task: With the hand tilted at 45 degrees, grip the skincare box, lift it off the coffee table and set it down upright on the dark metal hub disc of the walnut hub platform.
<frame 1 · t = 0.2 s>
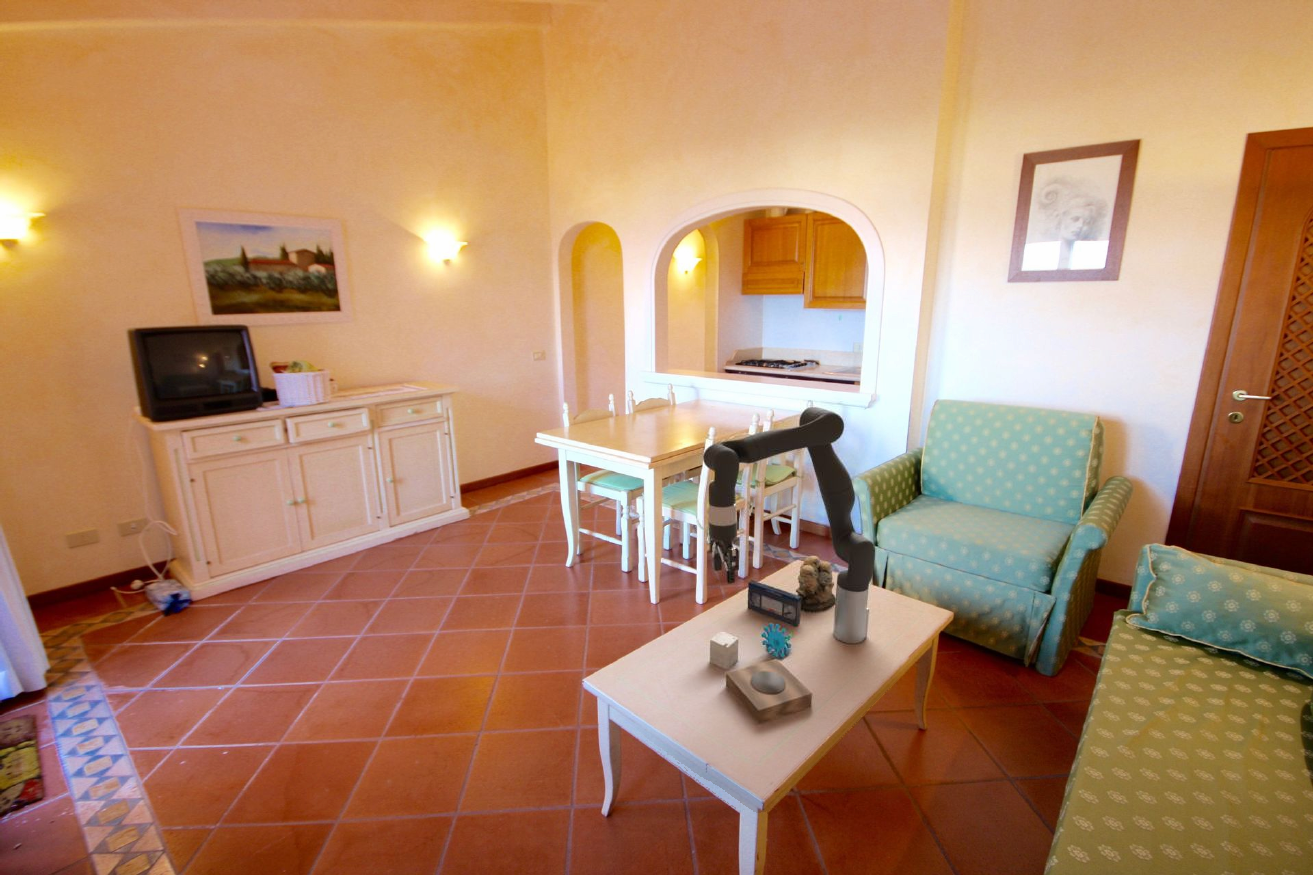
hand: (724, 576, 158), 29 cm above the table, tool pointing down, fingers open, 8 cm apart
hub platform: (767, 695, 154), on the table
owl figurine: (813, 603, 202), on the table
skincare box: (723, 661, 169), on the table
vhs cassette tape: (773, 617, 193), on the table
gear: (777, 651, 174), on the table
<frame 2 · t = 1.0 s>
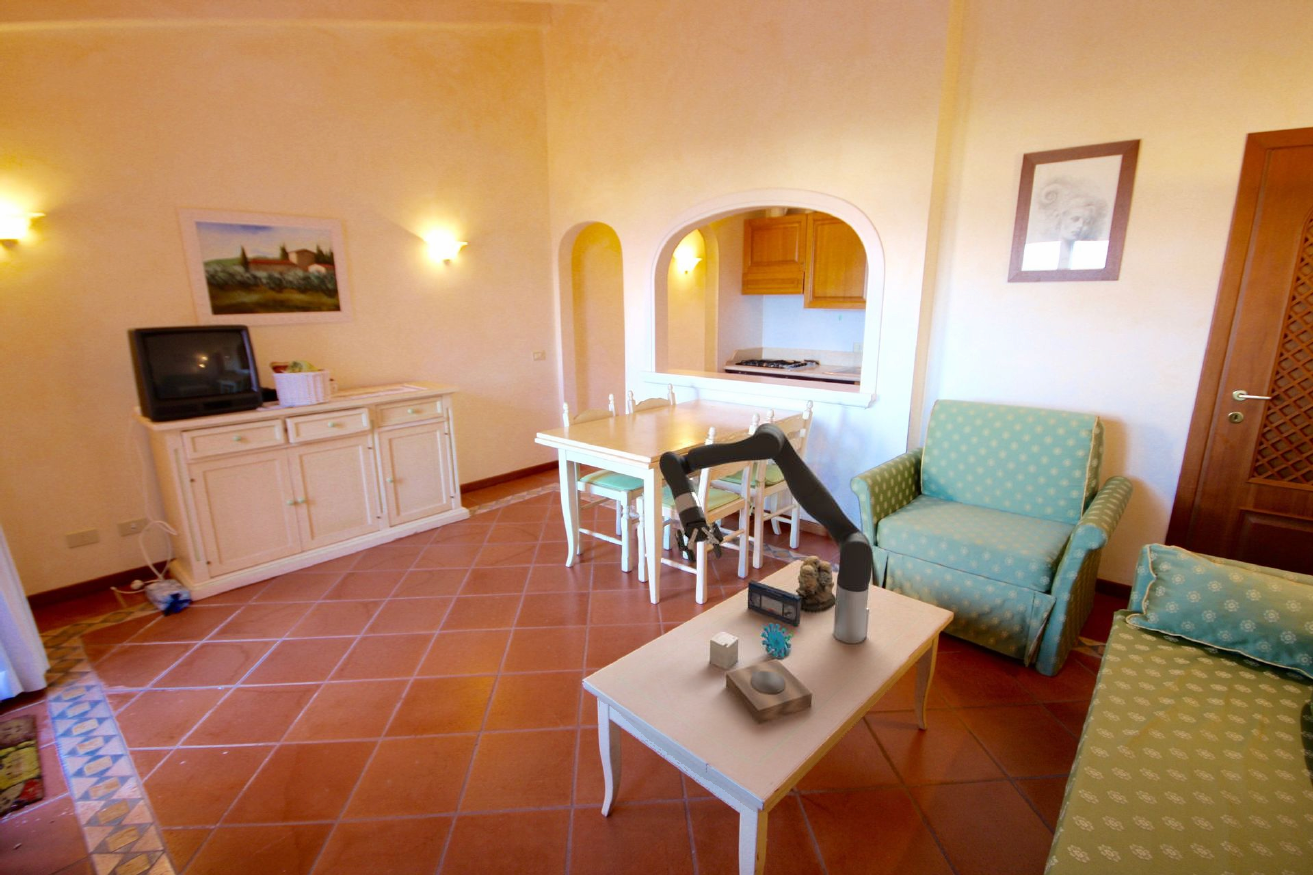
hand: (707, 560, 172), 27 cm above the table, tool tilted 45°, fingers open, 8 cm apart
nothing on the table moved.
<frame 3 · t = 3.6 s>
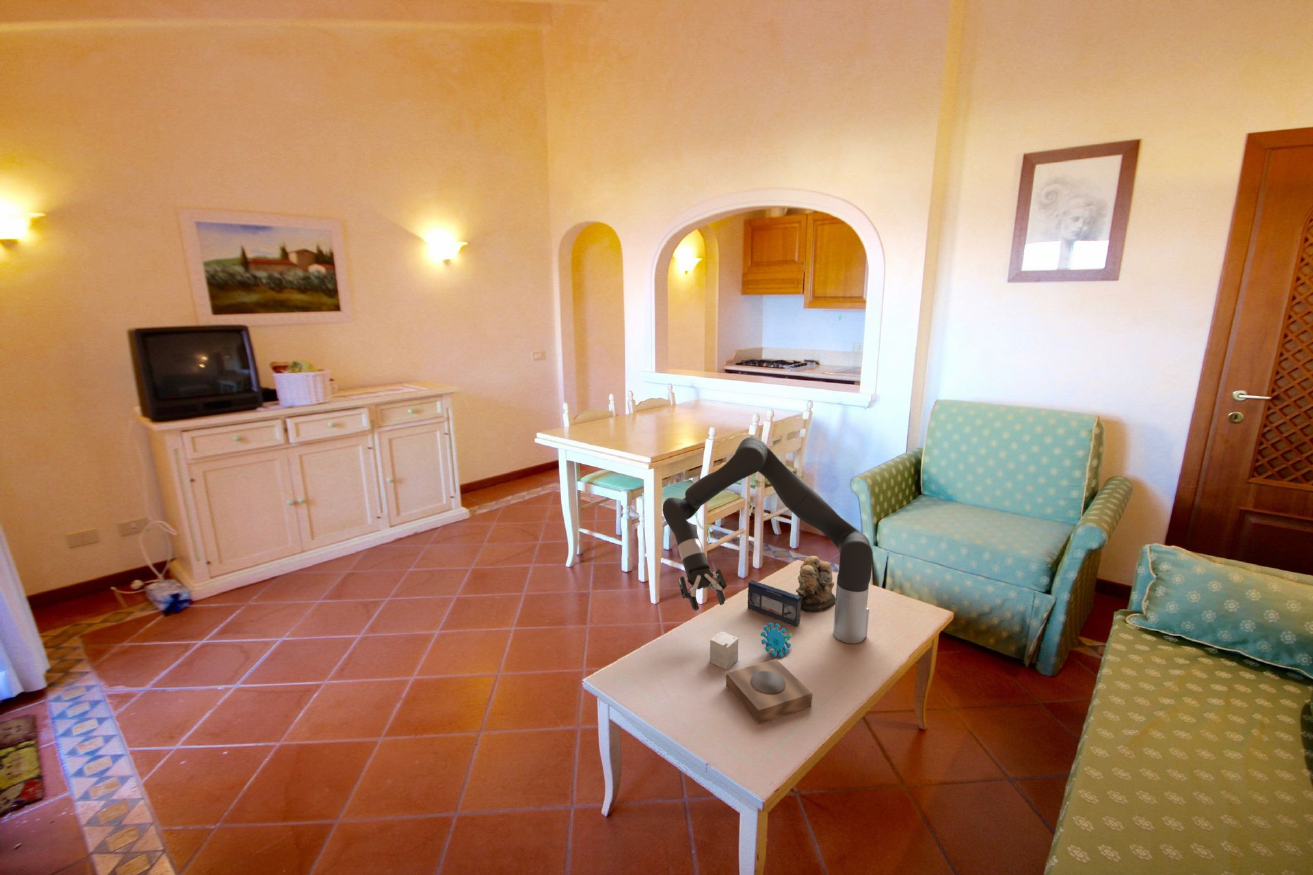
hand: (710, 607, 175), 13 cm above the table, tool tilted 45°, fingers open, 8 cm apart
nothing on the table moved.
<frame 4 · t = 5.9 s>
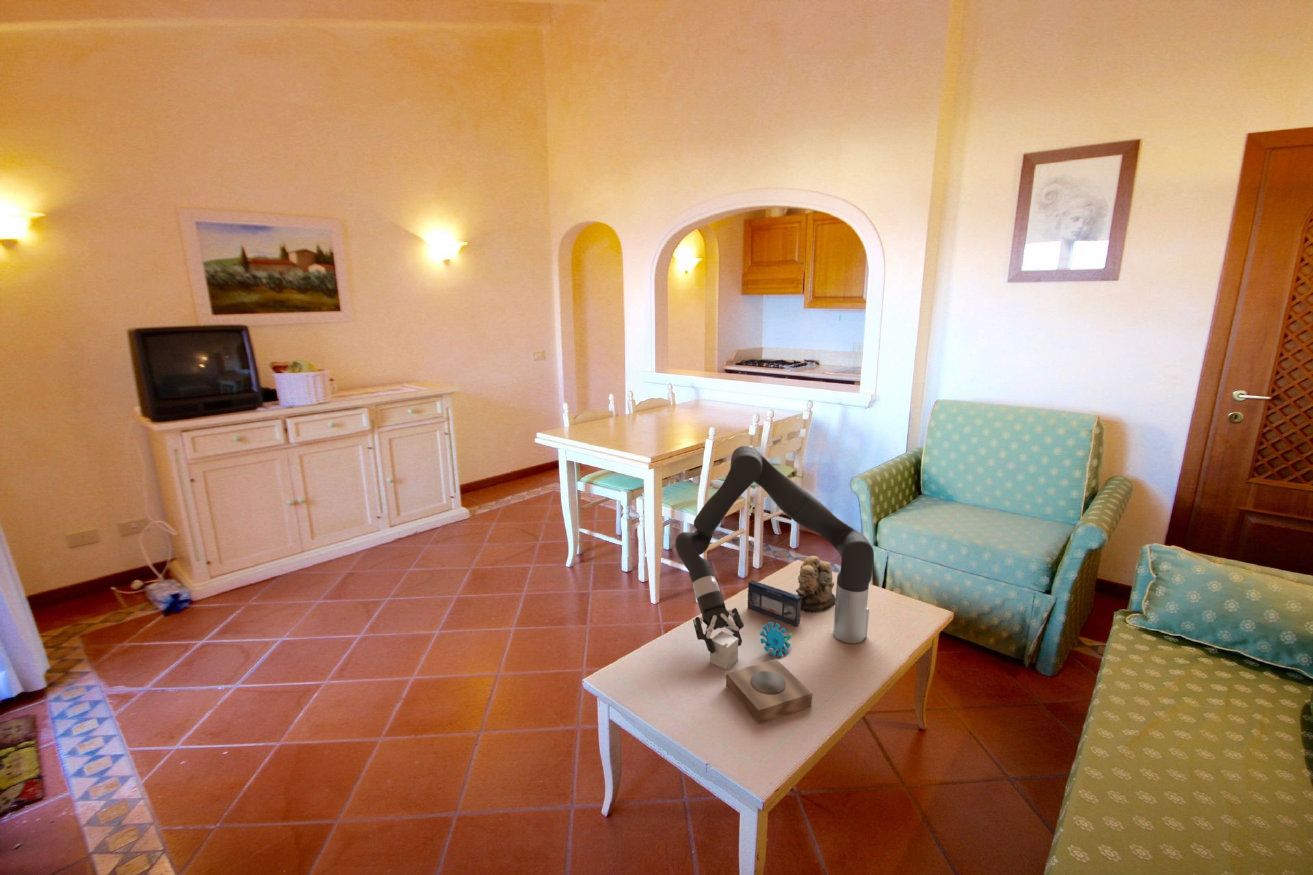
hand: (726, 649, 167), 5 cm above the table, tool tilted 45°, fingers open, 8 cm apart
skincare box: (723, 661, 169), on the table, touching gripper
everything else where it was.
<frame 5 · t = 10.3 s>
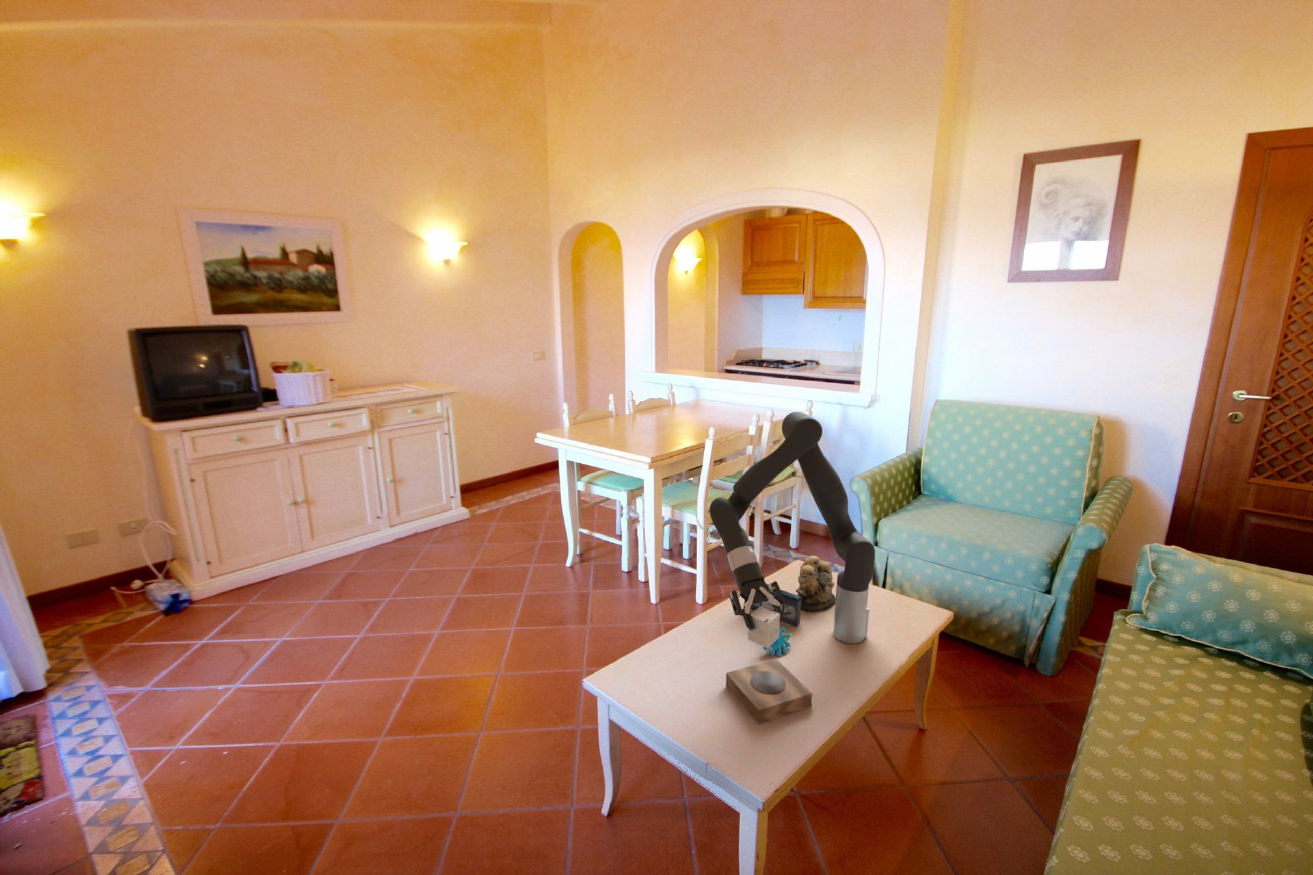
hand: (767, 625, 151), 20 cm above the table, tool tilted 45°, fingers closed on skincare box, 8 cm apart
skincare box: (763, 639, 153), point 15 cm above the table, touching gripper
when the fingers open (10 cm above the table, at t = 14.1 s): skincare box drops 1 cm, resting on hub platform.
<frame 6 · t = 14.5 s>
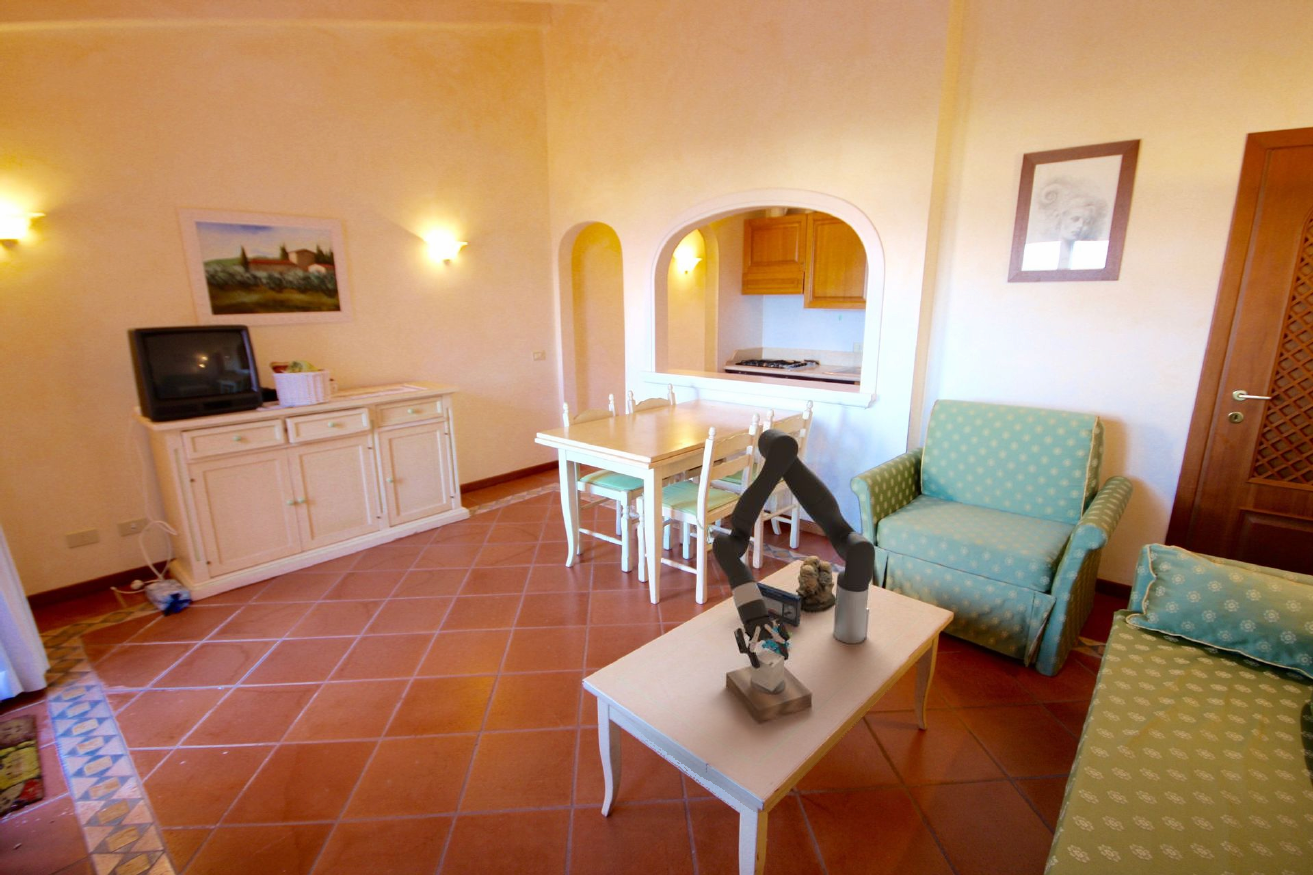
hand: (772, 663, 151), 10 cm above the table, tool tilted 45°, fingers open, 8 cm apart
skincare box: (767, 681, 154), point 4 cm above the table, touching hub platform
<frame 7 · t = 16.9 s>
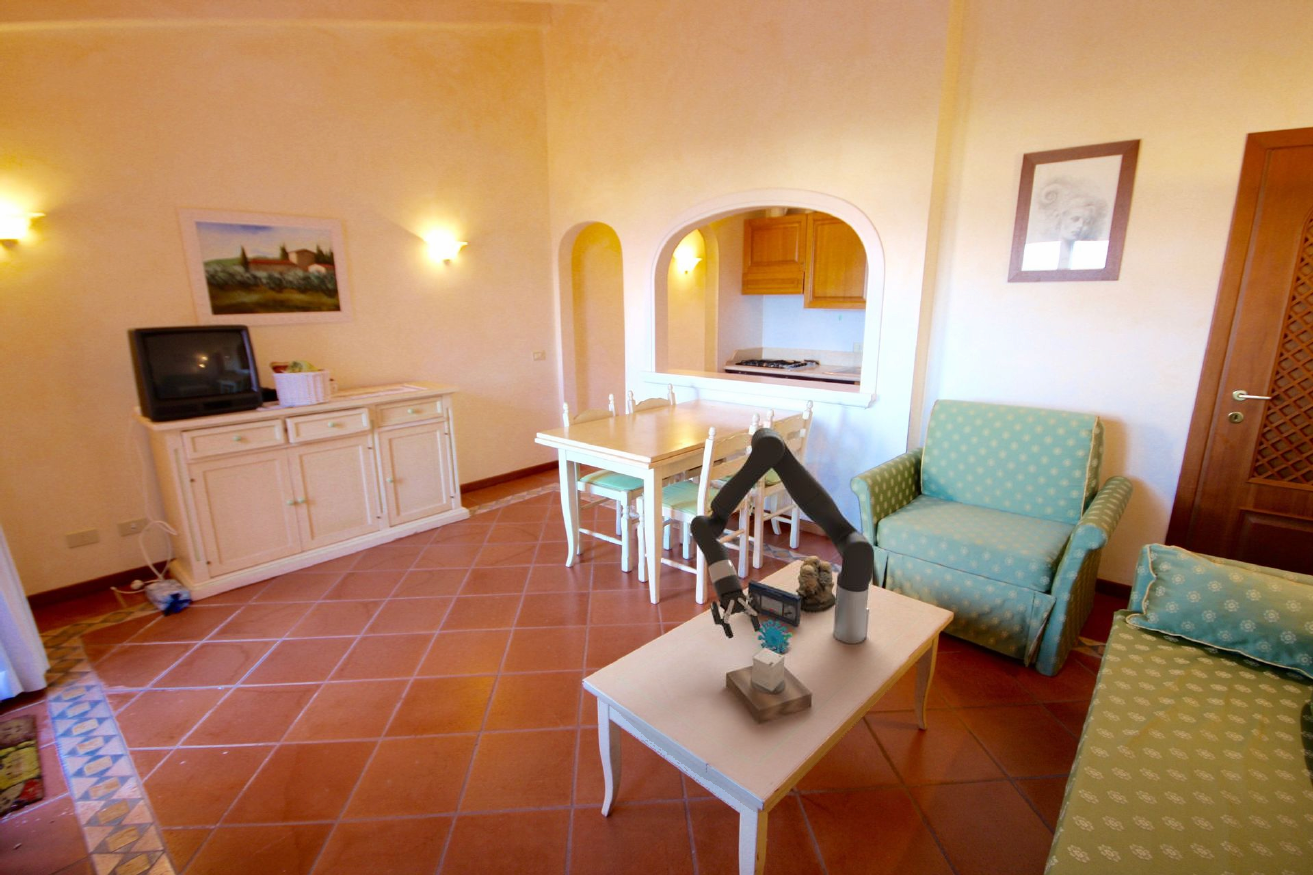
hand: (744, 634, 163), 11 cm above the table, tool tilted 45°, fingers open, 8 cm apart
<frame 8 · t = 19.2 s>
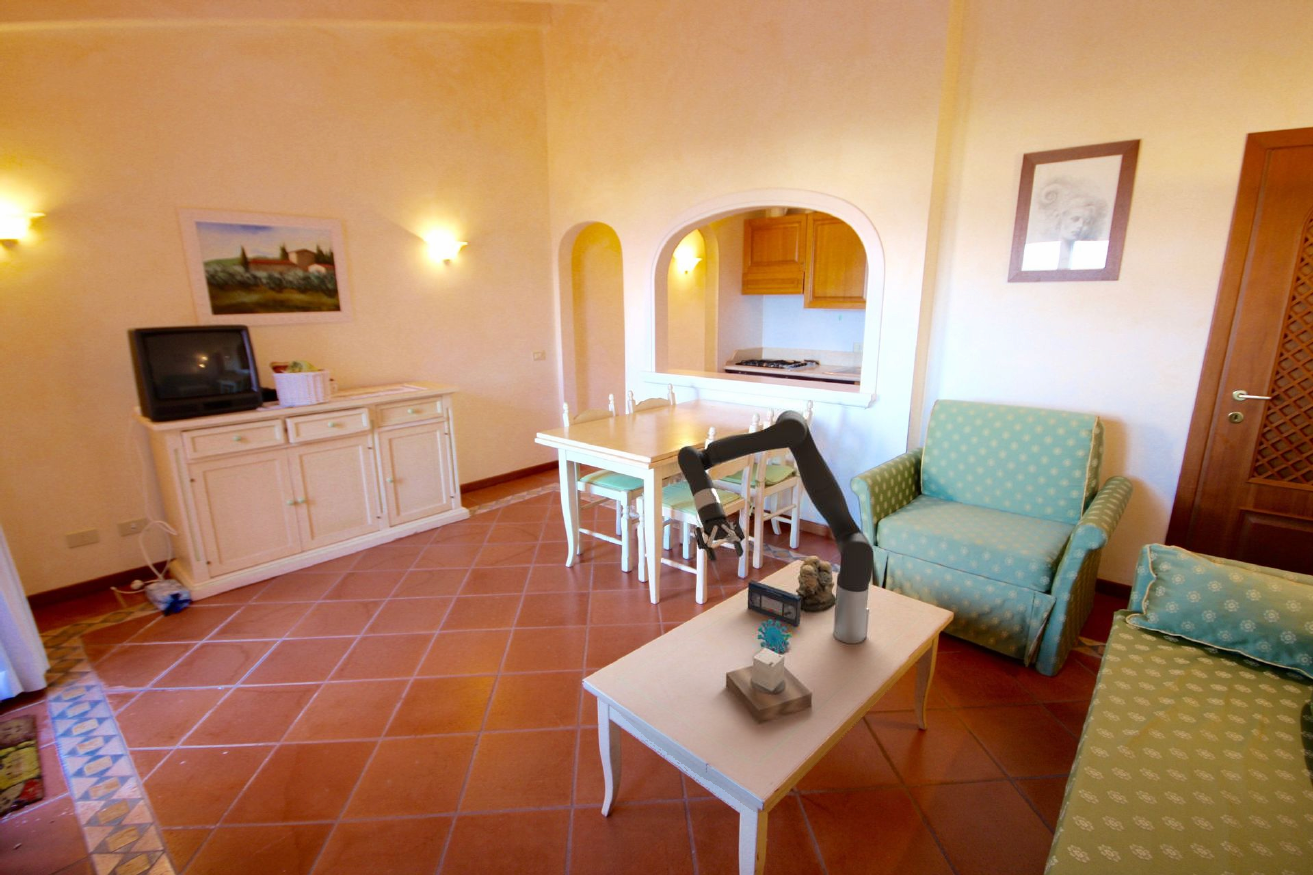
hand: (727, 558, 165), 31 cm above the table, tool tilted 45°, fingers open, 8 cm apart
at the end: skincare box inside the target area on the hub platform (0.2 cm from its centre), point 4.1 cm above the hub platform's base; skincare box tilted 0°; the gripper is holding nothing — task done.
